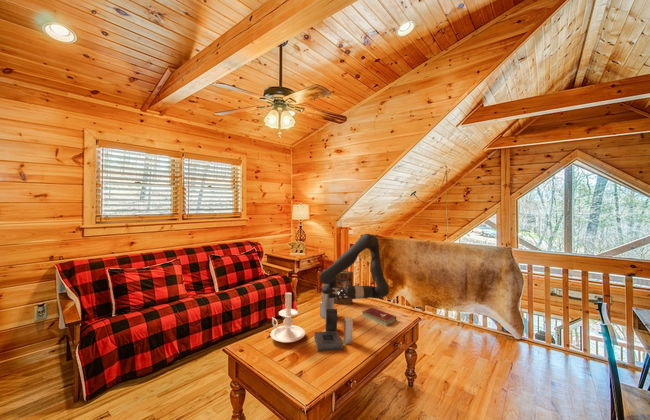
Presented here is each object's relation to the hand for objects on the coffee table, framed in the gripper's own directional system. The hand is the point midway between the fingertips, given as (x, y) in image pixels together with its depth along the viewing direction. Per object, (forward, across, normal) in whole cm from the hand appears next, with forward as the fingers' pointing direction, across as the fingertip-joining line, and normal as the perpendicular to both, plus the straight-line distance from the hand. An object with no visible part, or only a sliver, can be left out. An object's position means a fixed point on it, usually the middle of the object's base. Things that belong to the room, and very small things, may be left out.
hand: (327, 293), depth 156 cm
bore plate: (-1, 0, +30) cm, 30 cm away
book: (-23, -61, +30) cm, 72 cm away
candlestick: (+23, -11, +30) cm, 40 cm away
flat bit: (-6, -16, +30) cm, 35 cm away
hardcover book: (-42, -29, +31) cm, 60 cm away
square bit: (-13, -1, +30) cm, 33 cm away
